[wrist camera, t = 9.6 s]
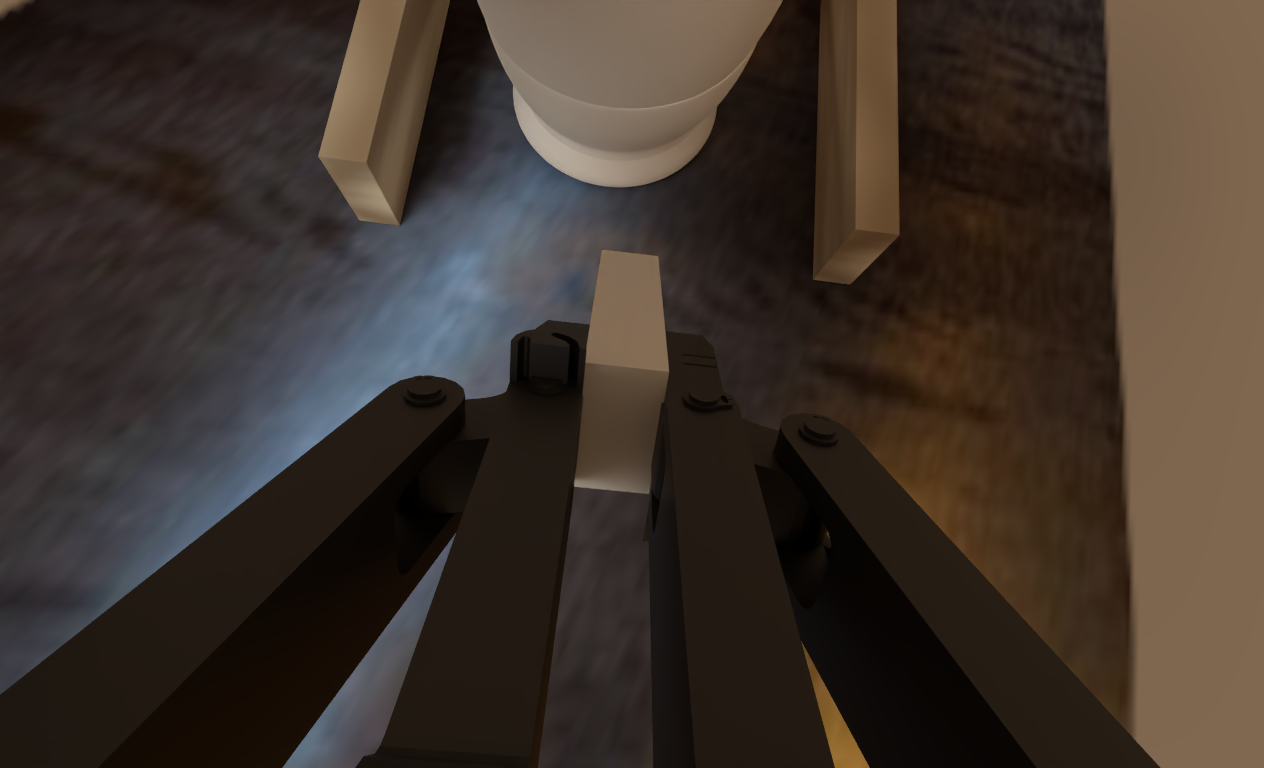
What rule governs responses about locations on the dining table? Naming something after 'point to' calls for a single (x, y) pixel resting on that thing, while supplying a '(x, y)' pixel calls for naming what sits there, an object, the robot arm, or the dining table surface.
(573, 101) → the jar
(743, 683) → the robot arm
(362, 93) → the bay
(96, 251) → the dining table surface
